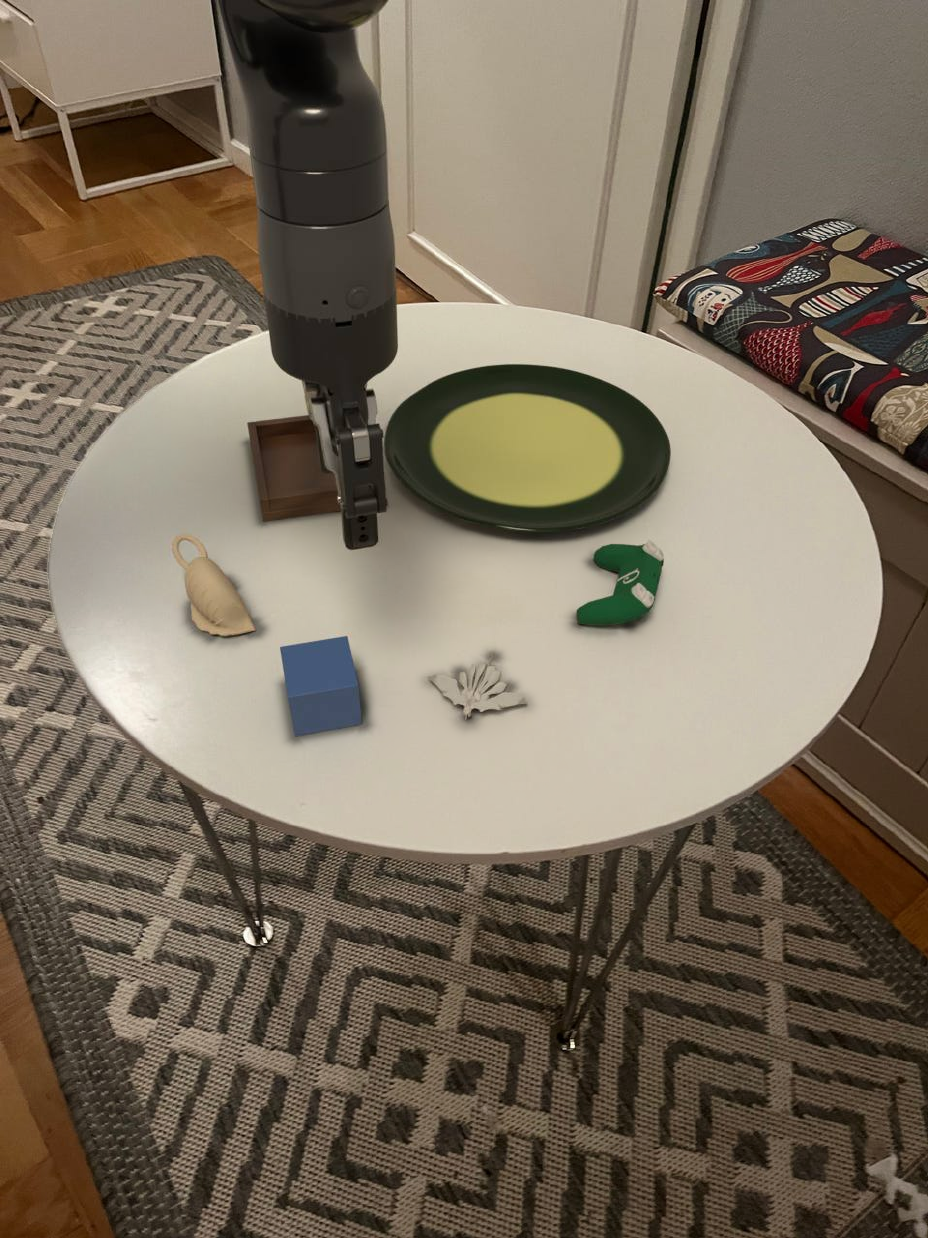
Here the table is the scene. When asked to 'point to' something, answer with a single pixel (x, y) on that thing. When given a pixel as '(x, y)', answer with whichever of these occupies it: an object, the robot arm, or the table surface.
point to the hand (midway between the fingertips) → (348, 505)
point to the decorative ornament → (212, 594)
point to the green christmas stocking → (625, 584)
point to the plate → (527, 448)
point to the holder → (290, 469)
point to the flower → (477, 690)
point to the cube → (321, 685)
